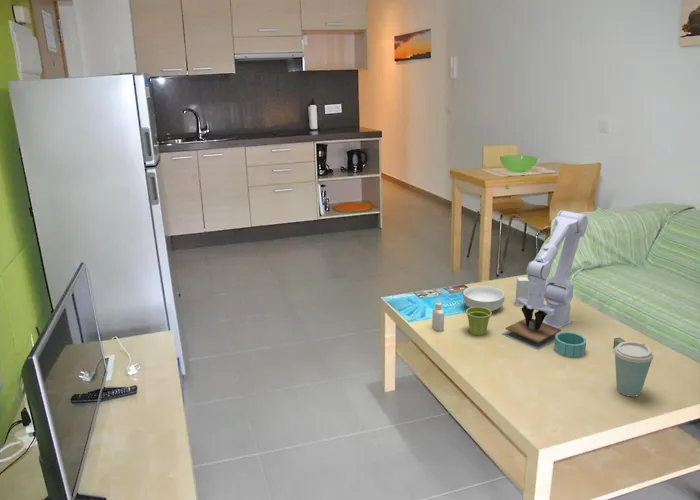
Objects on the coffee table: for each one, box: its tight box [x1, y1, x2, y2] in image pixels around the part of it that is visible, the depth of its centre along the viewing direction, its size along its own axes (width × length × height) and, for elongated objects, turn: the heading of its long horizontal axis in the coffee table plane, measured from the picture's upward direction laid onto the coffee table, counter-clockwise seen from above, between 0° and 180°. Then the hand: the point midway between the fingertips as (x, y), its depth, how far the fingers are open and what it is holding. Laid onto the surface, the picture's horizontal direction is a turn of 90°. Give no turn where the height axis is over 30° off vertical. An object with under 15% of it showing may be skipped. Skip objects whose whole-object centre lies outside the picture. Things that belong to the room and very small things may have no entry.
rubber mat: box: [501, 330, 557, 351], centre depth 203 cm, size 16×16×1 cm
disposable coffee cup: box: [613, 340, 654, 397], centre depth 166 cm, size 11×11×15 cm
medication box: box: [612, 337, 626, 349], centre depth 188 cm, size 12×3×4 cm, turn 13°
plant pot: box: [465, 307, 493, 336], centre depth 206 cm, size 9×9×9 cm
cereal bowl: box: [462, 285, 505, 312], centre depth 227 cm, size 17×17×7 cm
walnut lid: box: [505, 318, 562, 343], centre depth 202 cm, size 14×14×4 cm
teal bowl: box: [553, 331, 587, 359], centre depth 191 cm, size 10×10×5 cm
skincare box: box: [514, 276, 529, 308], centre depth 228 cm, size 6×4×12 cm
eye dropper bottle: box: [431, 299, 445, 332], centre depth 209 cm, size 4×6×12 cm
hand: (533, 326), depth 202 cm, fingers closed on walnut lid, 3 cm apart
